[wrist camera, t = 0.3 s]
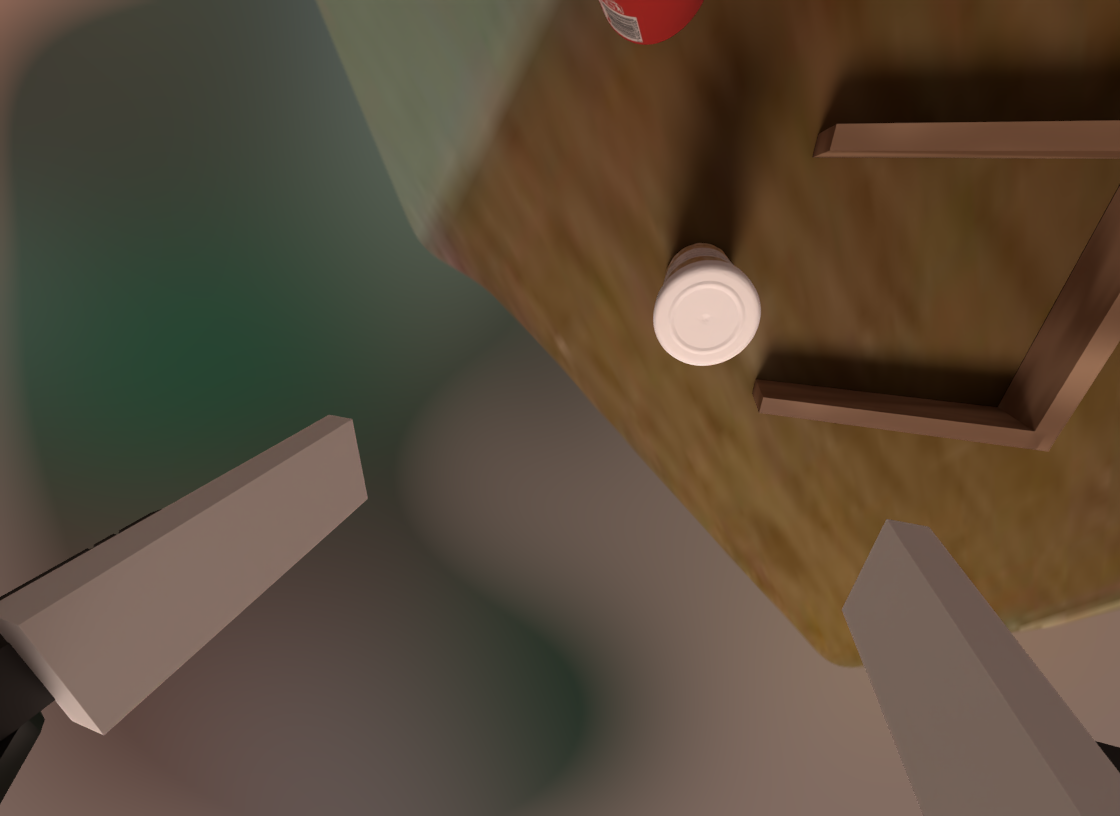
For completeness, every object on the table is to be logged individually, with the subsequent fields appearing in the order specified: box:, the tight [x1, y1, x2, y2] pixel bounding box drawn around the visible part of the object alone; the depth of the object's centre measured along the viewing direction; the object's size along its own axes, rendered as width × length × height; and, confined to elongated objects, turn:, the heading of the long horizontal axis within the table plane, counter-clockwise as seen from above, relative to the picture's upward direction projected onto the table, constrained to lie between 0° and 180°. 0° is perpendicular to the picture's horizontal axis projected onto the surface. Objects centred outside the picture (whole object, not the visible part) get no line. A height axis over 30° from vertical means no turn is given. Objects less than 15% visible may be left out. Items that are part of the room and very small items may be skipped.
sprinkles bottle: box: [653, 243, 761, 366], centre depth 24 cm, size 5×5×13 cm
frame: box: [752, 120, 1120, 451], centre depth 25 cm, size 17×17×4 cm
